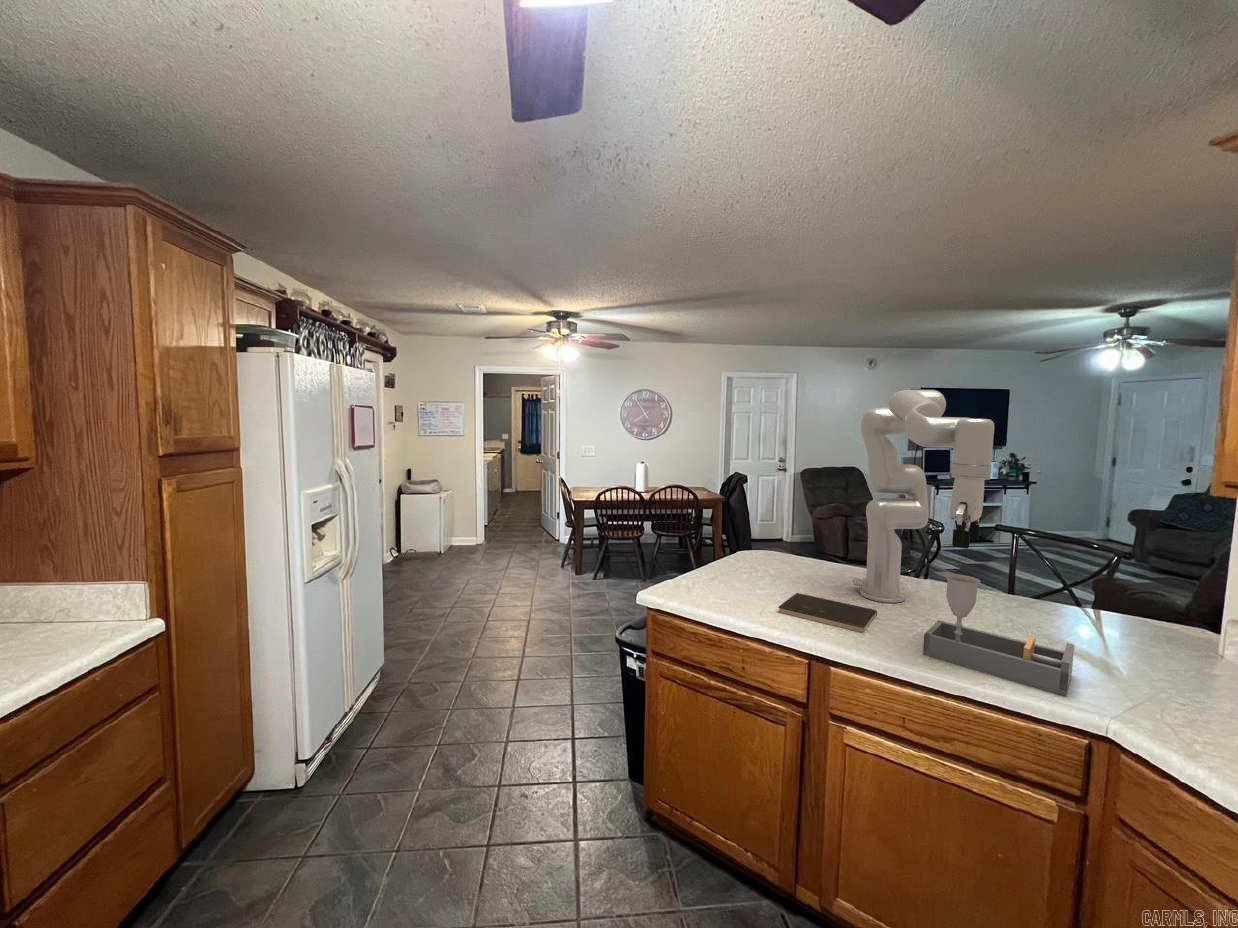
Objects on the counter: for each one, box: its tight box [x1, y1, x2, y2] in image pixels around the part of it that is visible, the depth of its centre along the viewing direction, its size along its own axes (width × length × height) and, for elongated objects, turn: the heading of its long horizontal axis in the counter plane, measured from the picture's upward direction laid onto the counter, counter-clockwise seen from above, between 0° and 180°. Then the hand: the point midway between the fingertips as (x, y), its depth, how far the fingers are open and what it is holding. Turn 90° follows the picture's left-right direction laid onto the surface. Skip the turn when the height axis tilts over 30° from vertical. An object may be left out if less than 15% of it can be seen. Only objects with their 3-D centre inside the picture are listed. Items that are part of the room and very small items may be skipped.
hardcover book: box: [778, 592, 878, 633], centre depth 148 cm, size 16×23×2 cm
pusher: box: [1023, 634, 1062, 666], centre depth 111 cm, size 6×9×6 cm
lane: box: [922, 619, 1075, 697], centre depth 117 cm, size 26×12×7 cm, turn 45°
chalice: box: [945, 573, 981, 642], centre depth 120 cm, size 7×7×18 cm
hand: (965, 543), depth 120 cm, fingers open, 9 cm apart
